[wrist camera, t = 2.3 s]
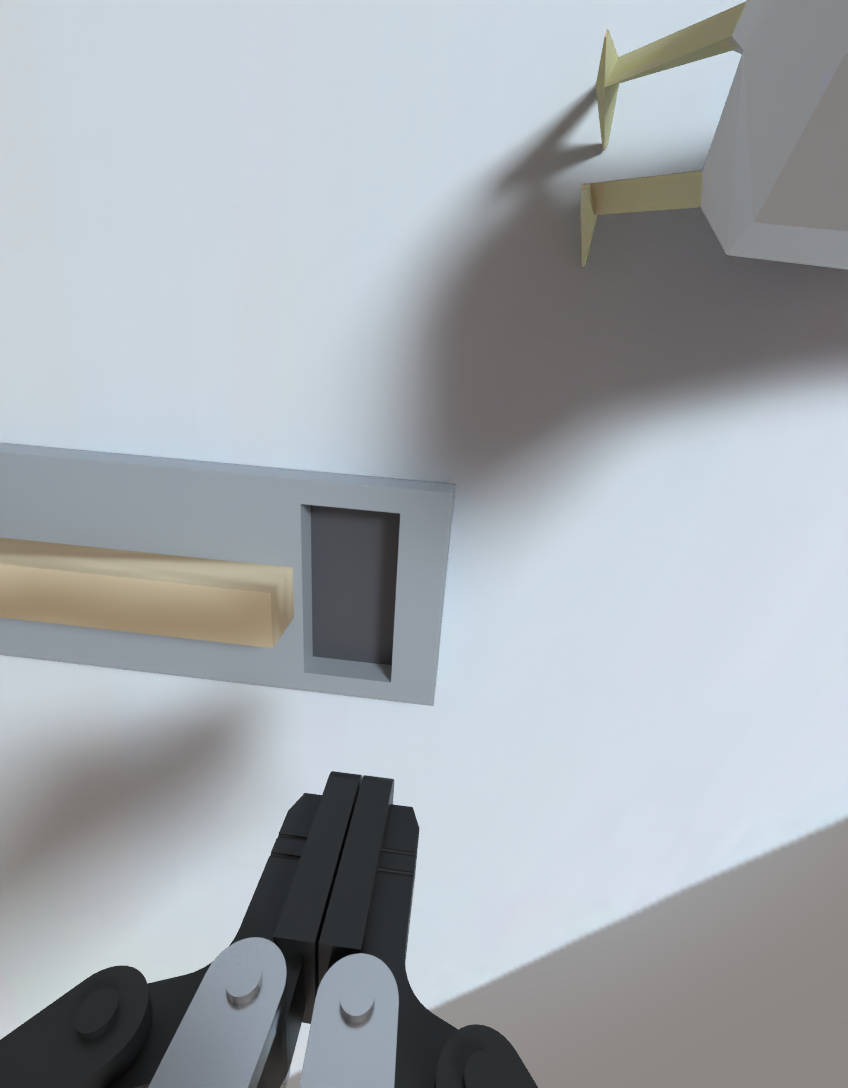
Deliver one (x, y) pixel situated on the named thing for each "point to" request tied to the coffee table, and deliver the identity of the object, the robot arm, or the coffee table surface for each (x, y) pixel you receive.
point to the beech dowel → (145, 592)
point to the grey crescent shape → (752, 133)
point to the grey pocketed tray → (252, 537)
